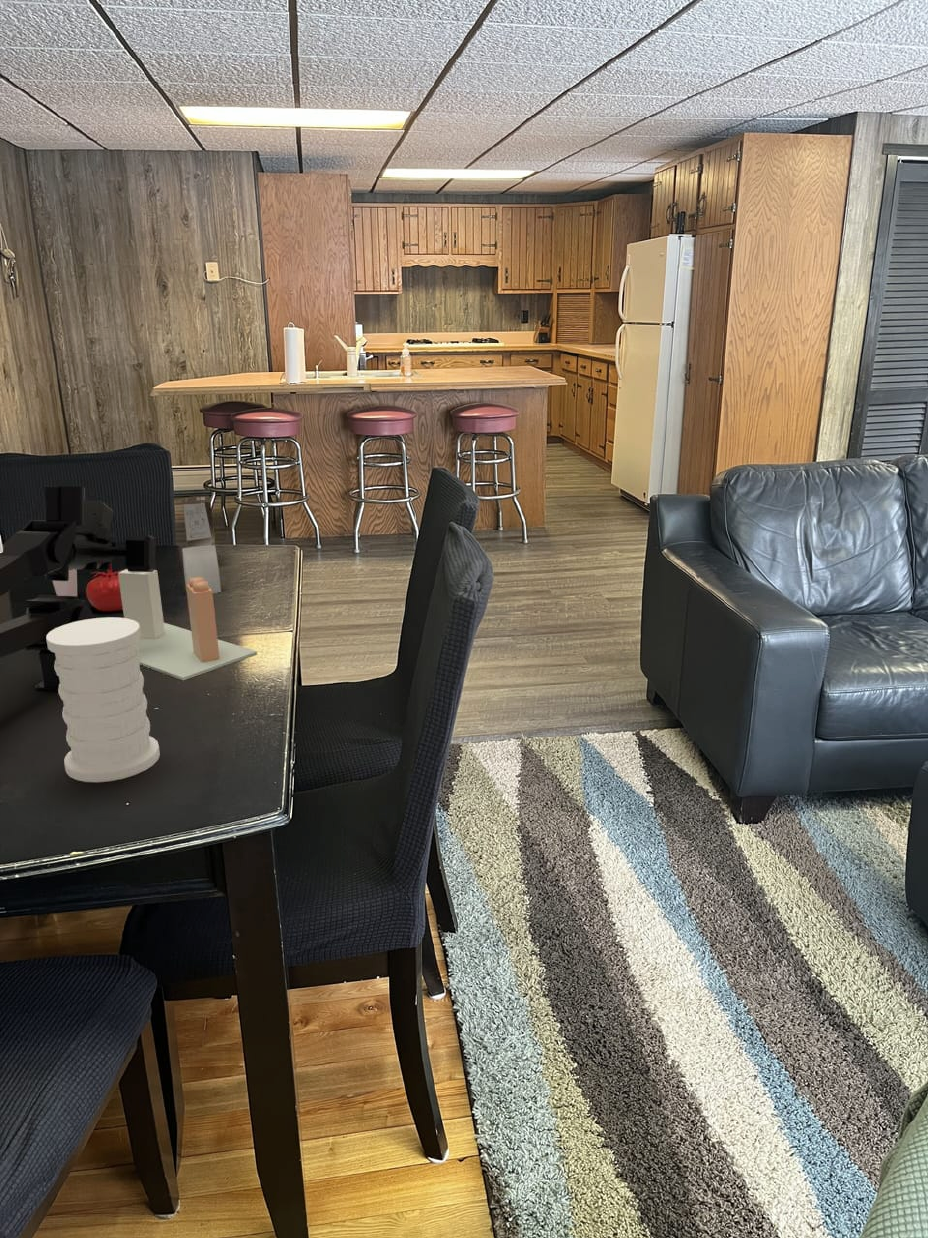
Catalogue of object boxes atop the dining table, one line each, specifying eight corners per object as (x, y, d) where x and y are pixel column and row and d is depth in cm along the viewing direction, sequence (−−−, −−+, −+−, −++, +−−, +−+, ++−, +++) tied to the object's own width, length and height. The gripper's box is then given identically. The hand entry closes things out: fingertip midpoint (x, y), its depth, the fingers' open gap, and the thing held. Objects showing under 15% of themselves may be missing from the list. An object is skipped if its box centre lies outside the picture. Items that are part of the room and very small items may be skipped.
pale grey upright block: (221, 592, 190) (216, 547, 187) (188, 596, 188) (183, 550, 185) (218, 588, 193) (213, 543, 190) (186, 592, 191) (181, 546, 188)
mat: (183, 680, 142) (182, 677, 142) (86, 644, 159) (85, 642, 159) (257, 654, 153) (256, 651, 153) (158, 623, 170) (158, 620, 170)
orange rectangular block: (201, 662, 148) (193, 586, 144) (193, 651, 153) (185, 577, 149) (219, 658, 150) (211, 583, 146) (211, 648, 155) (203, 575, 151)
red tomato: (86, 618, 175) (78, 572, 172) (92, 603, 184) (84, 560, 181) (139, 612, 178) (132, 567, 174) (142, 597, 187) (135, 555, 184)
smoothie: (72, 604, 183) (61, 537, 179) (44, 602, 185) (33, 536, 180) (90, 595, 189) (80, 531, 185) (63, 594, 191) (53, 530, 186)
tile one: (155, 638, 160) (146, 568, 156) (126, 636, 162) (116, 566, 157) (165, 633, 163) (156, 563, 159) (136, 631, 164) (126, 562, 160)
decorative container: (170, 740, 121) (154, 615, 116) (144, 781, 110) (125, 645, 105) (85, 742, 121) (64, 617, 116) (50, 784, 110) (26, 647, 104)
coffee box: (218, 568, 209) (211, 501, 204) (189, 571, 207) (182, 503, 202) (216, 559, 217) (209, 494, 212) (189, 562, 216) (181, 496, 211)
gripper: (129, 502, 142) (176, 509, 157) (23, 500, 144) (79, 507, 160) (129, 572, 142) (175, 571, 158) (23, 569, 145) (79, 569, 160)
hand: (127, 553), depth 159 cm, fingers open, 9 cm apart
